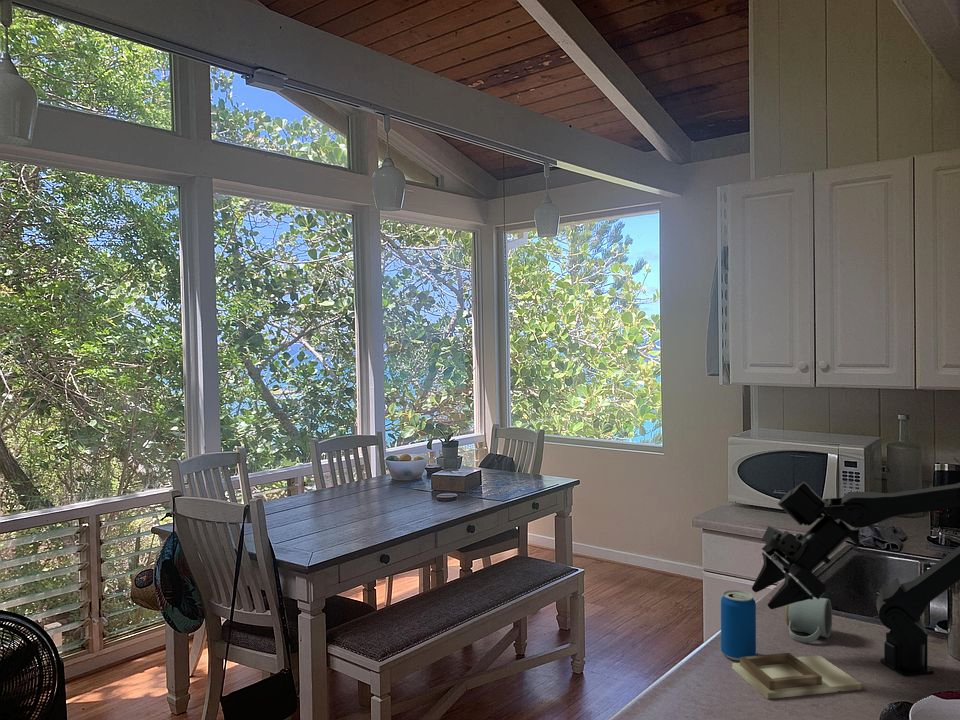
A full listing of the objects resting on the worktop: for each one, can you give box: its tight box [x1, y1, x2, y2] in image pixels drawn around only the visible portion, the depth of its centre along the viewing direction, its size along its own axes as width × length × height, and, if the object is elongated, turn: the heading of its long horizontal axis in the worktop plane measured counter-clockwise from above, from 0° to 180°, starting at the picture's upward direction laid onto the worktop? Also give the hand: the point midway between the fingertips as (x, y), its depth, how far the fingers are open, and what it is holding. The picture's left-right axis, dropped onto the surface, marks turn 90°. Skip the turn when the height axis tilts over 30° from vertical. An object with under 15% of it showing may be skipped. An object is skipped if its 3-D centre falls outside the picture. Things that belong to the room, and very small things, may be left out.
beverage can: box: [720, 589, 757, 662], centre depth 144 cm, size 6×6×12 cm
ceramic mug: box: [784, 596, 833, 644], centre depth 154 cm, size 11×8×8 cm
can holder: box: [731, 652, 862, 700], centre depth 134 cm, size 18×12×2 cm, turn 100°
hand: (761, 598), depth 144 cm, fingers open, 9 cm apart
